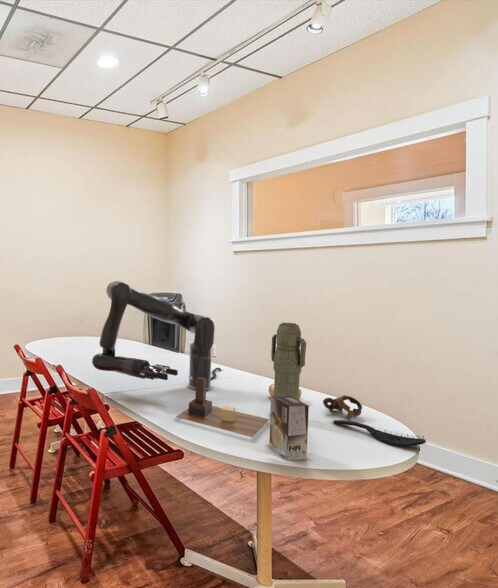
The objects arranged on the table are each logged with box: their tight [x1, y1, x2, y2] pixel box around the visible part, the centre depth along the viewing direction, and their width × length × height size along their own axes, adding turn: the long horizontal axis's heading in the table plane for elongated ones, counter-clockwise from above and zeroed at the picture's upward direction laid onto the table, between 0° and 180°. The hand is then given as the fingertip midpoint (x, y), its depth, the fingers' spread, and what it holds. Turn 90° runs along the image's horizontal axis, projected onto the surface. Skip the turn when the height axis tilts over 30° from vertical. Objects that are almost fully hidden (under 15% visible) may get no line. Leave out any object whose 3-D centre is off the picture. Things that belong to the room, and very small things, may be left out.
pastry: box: [268, 383, 302, 400], centre depth 167 cm, size 12×12×9 cm
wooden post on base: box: [188, 377, 213, 417], centre depth 148 cm, size 7×6×13 cm
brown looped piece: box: [322, 394, 363, 420], centre depth 150 cm, size 12×10×8 cm
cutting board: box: [175, 405, 270, 438], centre depth 143 cm, size 20×26×2 cm
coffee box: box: [269, 396, 310, 461], centre depth 119 cm, size 9×6×16 cm
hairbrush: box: [333, 419, 427, 447], centre depth 132 cm, size 8×4×25 cm
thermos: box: [270, 322, 307, 401], centre depth 146 cm, size 9×12×35 cm
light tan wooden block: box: [221, 405, 236, 422], centre depth 142 cm, size 4×4×4 cm
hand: (172, 375), depth 155 cm, fingers open, 8 cm apart
